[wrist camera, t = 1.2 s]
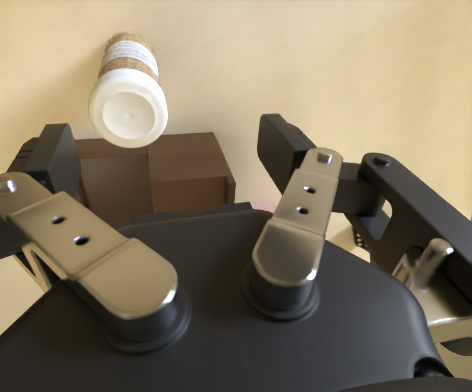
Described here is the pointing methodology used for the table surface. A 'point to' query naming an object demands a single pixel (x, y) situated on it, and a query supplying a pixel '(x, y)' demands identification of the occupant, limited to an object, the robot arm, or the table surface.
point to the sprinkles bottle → (128, 94)
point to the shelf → (153, 177)
